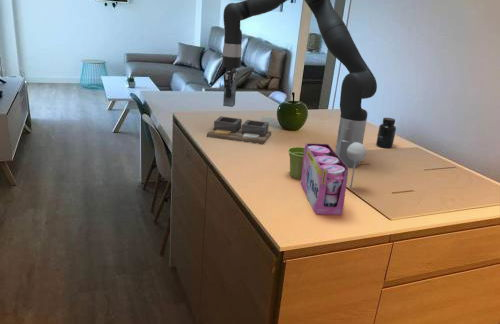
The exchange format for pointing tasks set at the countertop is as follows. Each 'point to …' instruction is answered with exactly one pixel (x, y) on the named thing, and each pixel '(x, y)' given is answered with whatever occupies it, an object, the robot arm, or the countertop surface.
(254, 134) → the socket board
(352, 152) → the lollipop
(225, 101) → the plug
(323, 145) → the gum box
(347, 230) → the countertop surface
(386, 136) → the supplement bottle
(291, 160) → the plant pot
